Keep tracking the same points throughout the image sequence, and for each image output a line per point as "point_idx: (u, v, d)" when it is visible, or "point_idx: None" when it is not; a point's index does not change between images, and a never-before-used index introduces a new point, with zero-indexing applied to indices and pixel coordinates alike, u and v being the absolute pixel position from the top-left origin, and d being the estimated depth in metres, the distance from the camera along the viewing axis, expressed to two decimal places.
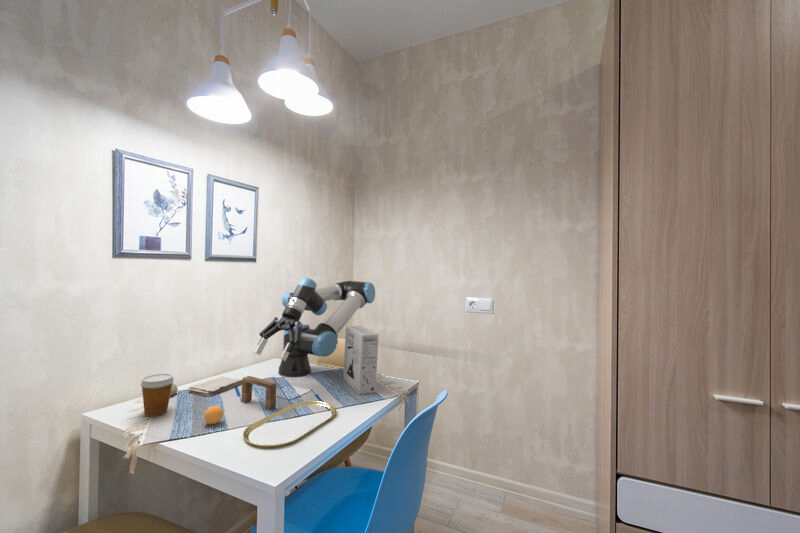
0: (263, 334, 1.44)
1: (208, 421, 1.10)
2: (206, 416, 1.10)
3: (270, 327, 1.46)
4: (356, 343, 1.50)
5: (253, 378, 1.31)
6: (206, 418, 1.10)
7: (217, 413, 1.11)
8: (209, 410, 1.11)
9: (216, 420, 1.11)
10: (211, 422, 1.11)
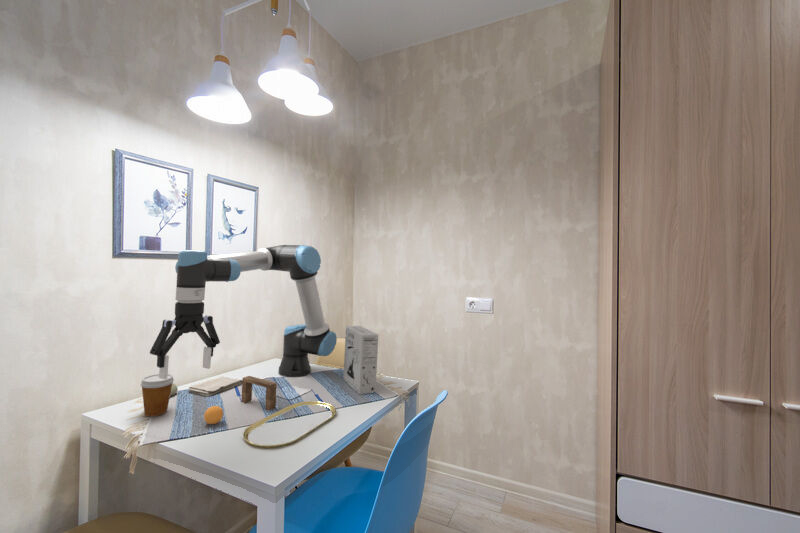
0: (163, 352, 0.97)
1: (208, 421, 1.10)
2: (206, 416, 1.10)
3: None
4: (356, 343, 1.50)
5: (253, 378, 1.31)
6: (206, 418, 1.10)
7: (217, 413, 1.11)
8: (209, 410, 1.11)
9: (216, 420, 1.11)
10: (211, 422, 1.11)
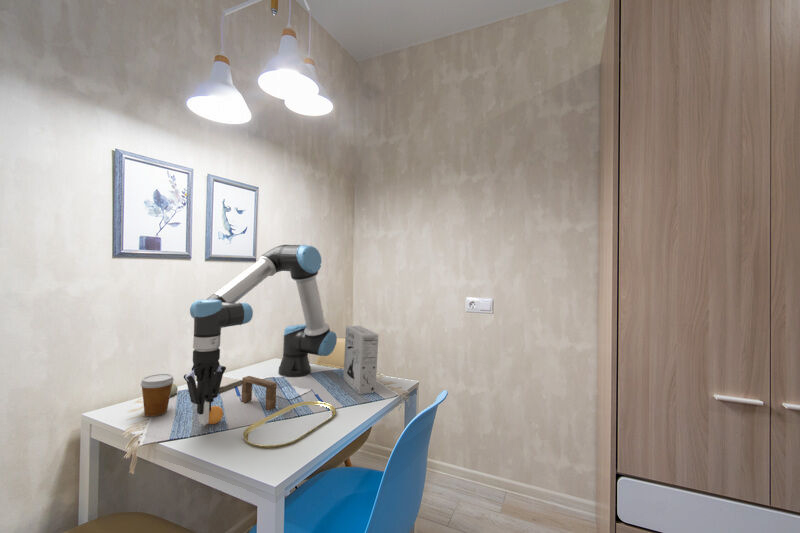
0: (201, 401, 1.08)
1: None
2: None
3: None
4: (356, 343, 1.50)
5: (253, 378, 1.31)
6: None
7: (217, 413, 1.11)
8: None
9: (216, 420, 1.11)
10: (211, 422, 1.11)
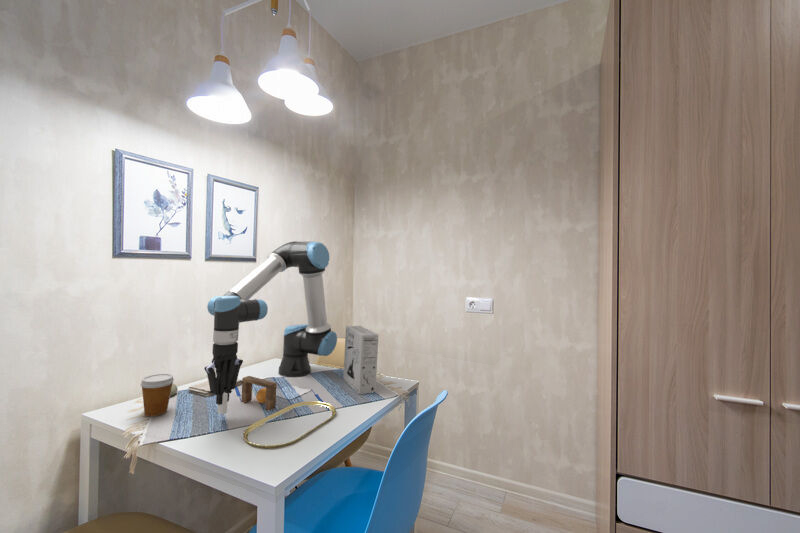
0: (220, 392, 1.14)
1: (260, 395, 1.29)
2: (261, 390, 1.30)
3: None
4: (356, 343, 1.50)
5: (253, 378, 1.31)
6: (260, 392, 1.29)
7: None
8: (265, 388, 1.31)
9: None
10: (262, 397, 1.29)
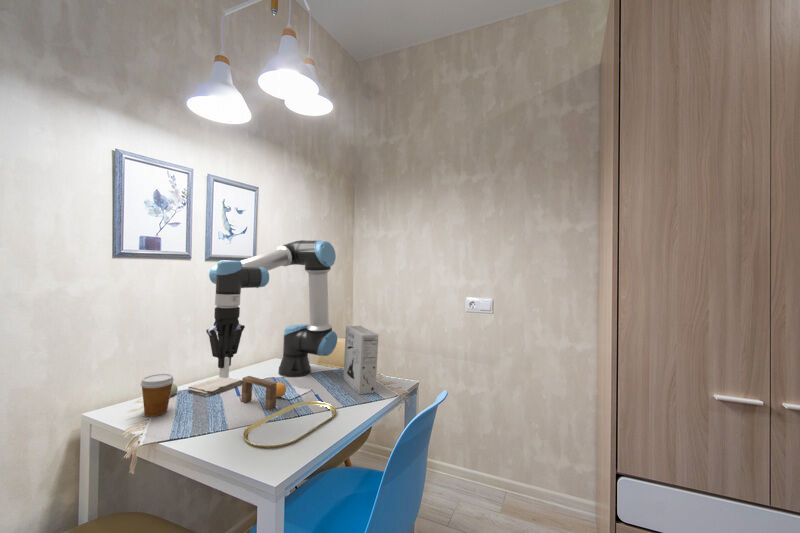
0: (222, 355, 1.14)
1: None
2: None
3: None
4: (356, 343, 1.50)
5: (253, 378, 1.31)
6: None
7: (283, 394, 1.37)
8: None
9: (285, 388, 1.38)
10: (285, 387, 1.39)
